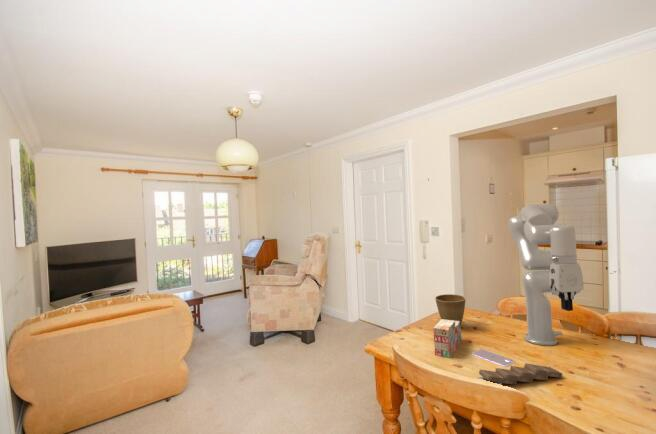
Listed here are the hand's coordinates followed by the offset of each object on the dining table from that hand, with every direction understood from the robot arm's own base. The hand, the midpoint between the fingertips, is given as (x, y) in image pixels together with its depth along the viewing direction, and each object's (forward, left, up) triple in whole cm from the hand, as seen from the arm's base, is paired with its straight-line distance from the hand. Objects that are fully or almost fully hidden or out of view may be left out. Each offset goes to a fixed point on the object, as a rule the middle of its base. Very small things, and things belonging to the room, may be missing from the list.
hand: (567, 309), depth 116 cm
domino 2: (+24, 0, -22) cm, 33 cm away
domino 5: (+6, 0, -22) cm, 23 cm away
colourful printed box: (+30, -32, -24) cm, 50 cm away
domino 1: (+29, 0, -22) cm, 37 cm away
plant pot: (+17, -54, -23) cm, 61 cm away
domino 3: (+18, 0, -22) cm, 29 cm away
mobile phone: (+19, -18, -24) cm, 35 cm away
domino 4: (+12, 0, -22) cm, 25 cm away
